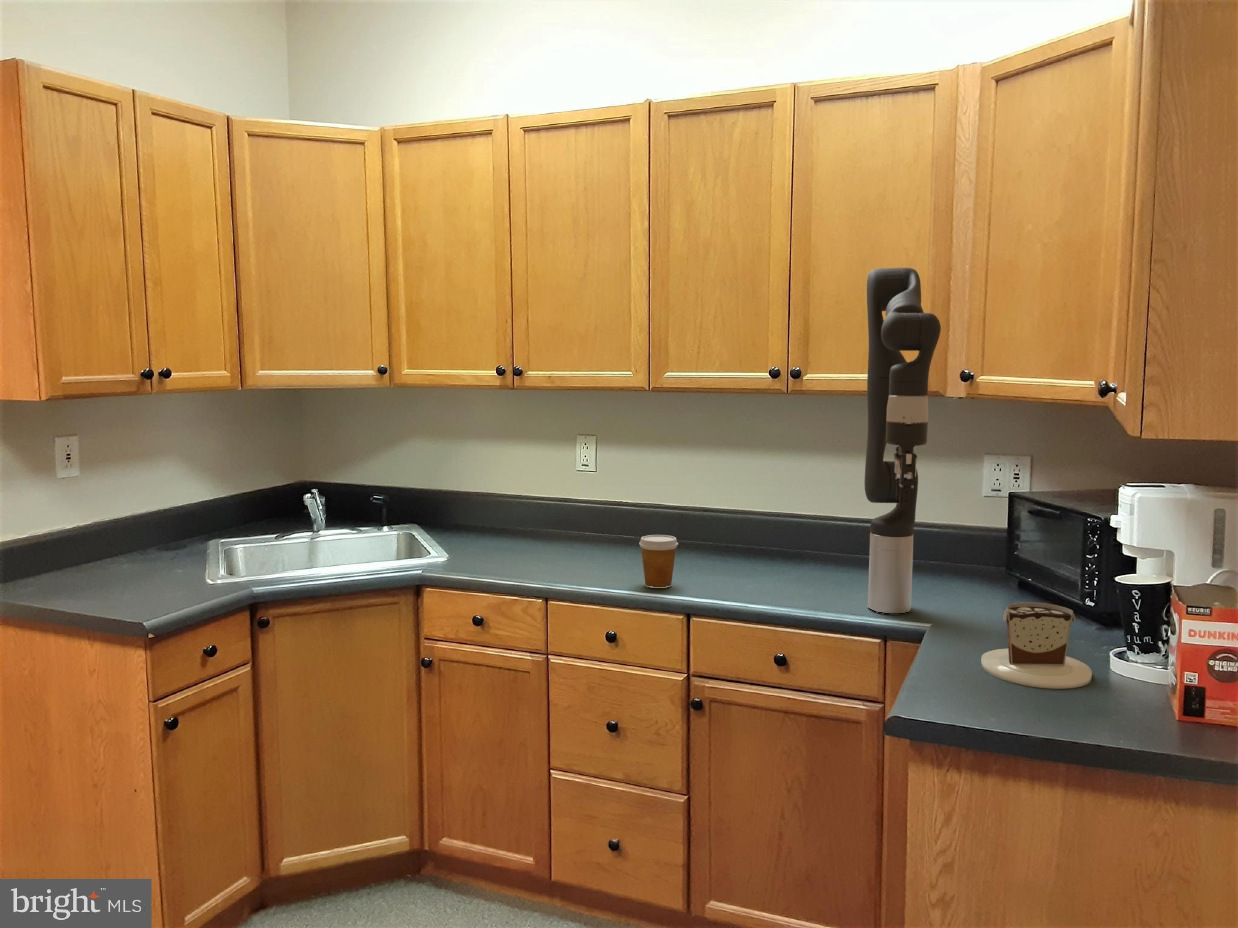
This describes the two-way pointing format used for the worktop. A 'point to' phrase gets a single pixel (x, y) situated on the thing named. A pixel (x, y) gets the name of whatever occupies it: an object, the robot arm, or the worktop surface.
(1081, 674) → the plate
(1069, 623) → the food container
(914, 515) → the robot arm
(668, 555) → the disposable coffee cup
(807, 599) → the worktop surface
